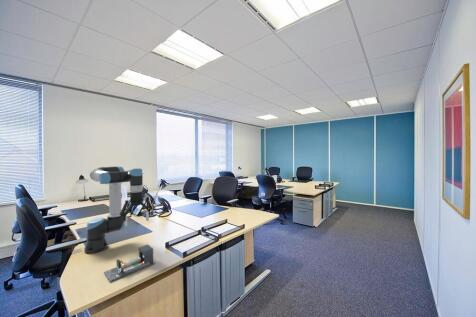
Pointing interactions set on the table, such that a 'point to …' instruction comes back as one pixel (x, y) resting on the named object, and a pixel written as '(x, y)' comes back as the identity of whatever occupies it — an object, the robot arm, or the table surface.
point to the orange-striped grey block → (127, 263)
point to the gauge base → (146, 261)
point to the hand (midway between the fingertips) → (137, 223)
